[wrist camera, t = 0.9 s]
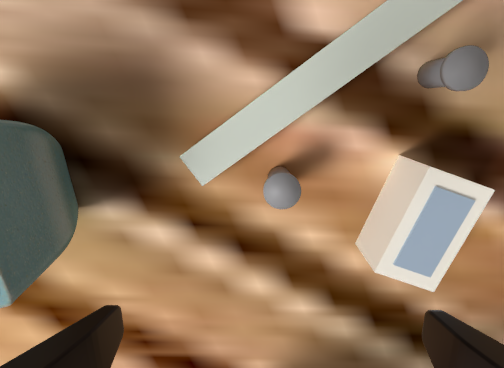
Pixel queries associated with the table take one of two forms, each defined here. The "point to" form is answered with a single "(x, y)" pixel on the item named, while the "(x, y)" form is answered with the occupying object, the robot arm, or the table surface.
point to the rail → (331, 89)
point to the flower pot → (31, 206)
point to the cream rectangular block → (420, 222)
